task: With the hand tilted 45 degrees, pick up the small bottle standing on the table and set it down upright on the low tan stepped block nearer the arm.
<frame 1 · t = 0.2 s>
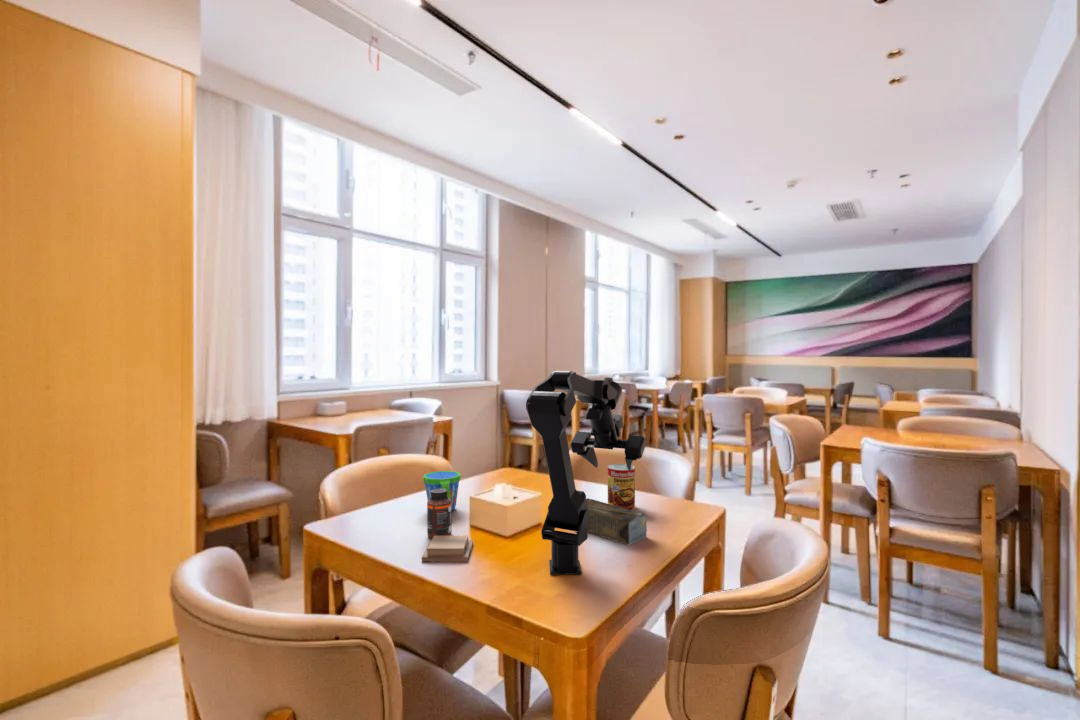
hand: (613, 468, 137), 15 cm above the table, tool tilted 35°, fingers open, 9 cm apart
beverage carton: (607, 533, 132), on the table
snack cup: (442, 510, 150), on the table
supplement bottle: (439, 536, 129), on the table
canned food: (621, 508, 152), on the table
tan stepped block: (448, 552, 118), on the table
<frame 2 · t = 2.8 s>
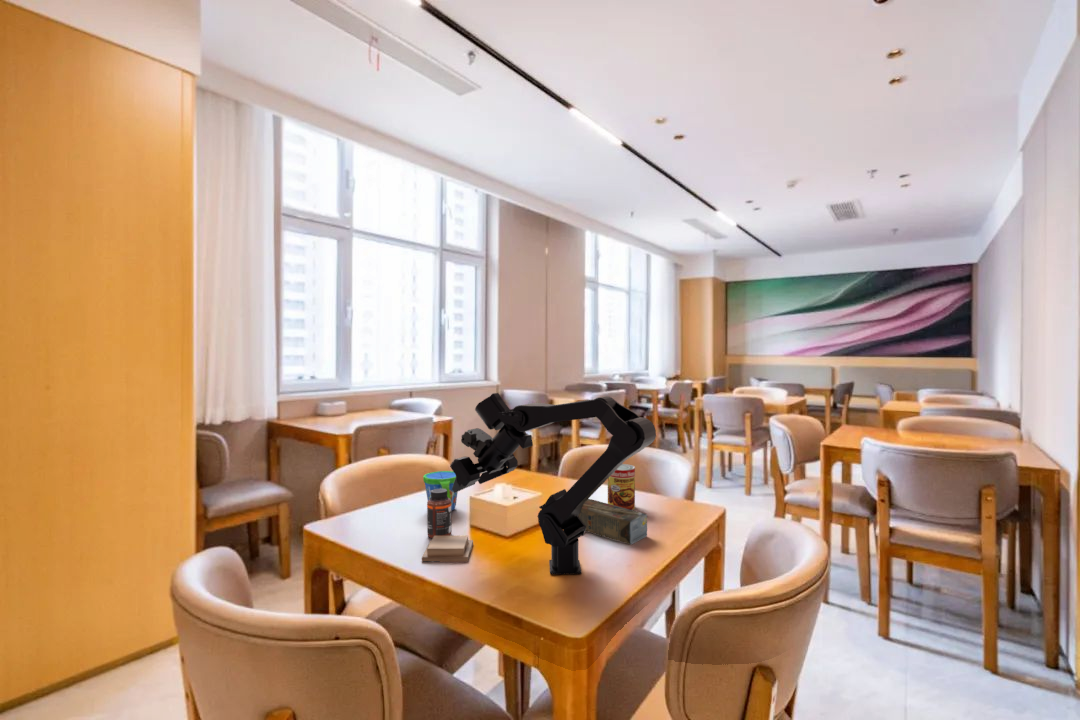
hand: (466, 486, 124), 14 cm above the table, tool tilted 45°, fingers open, 9 cm apart
nothing on the table moved.
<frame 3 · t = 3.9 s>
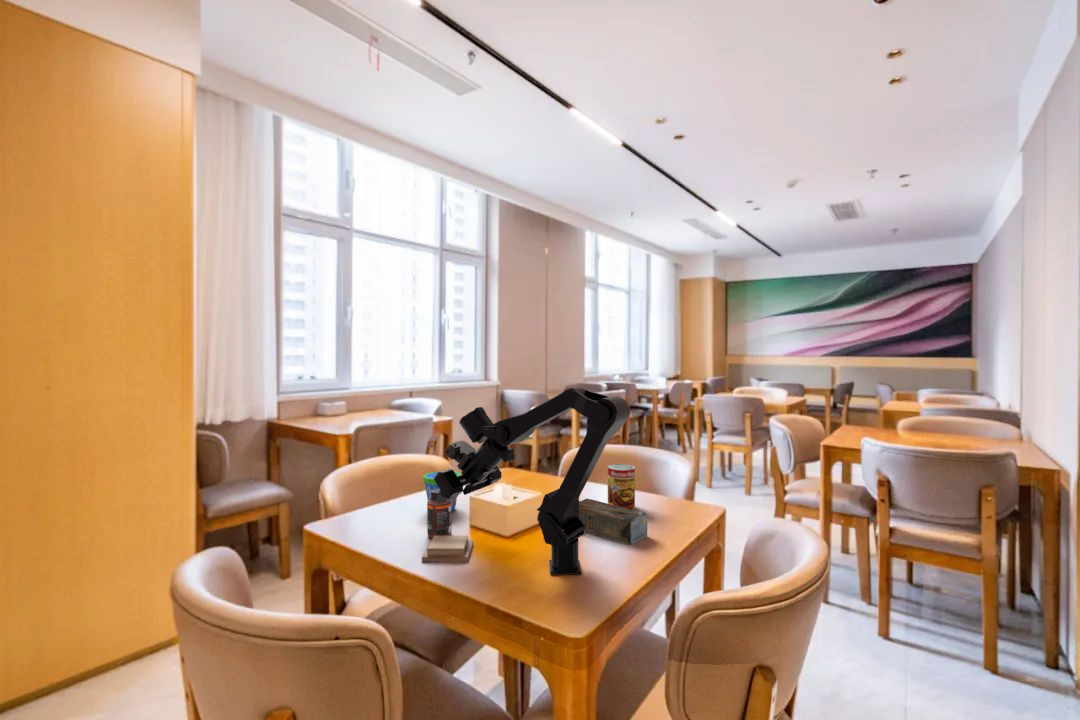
hand: (451, 497, 127), 10 cm above the table, tool tilted 45°, fingers open, 9 cm apart
nothing on the table moved.
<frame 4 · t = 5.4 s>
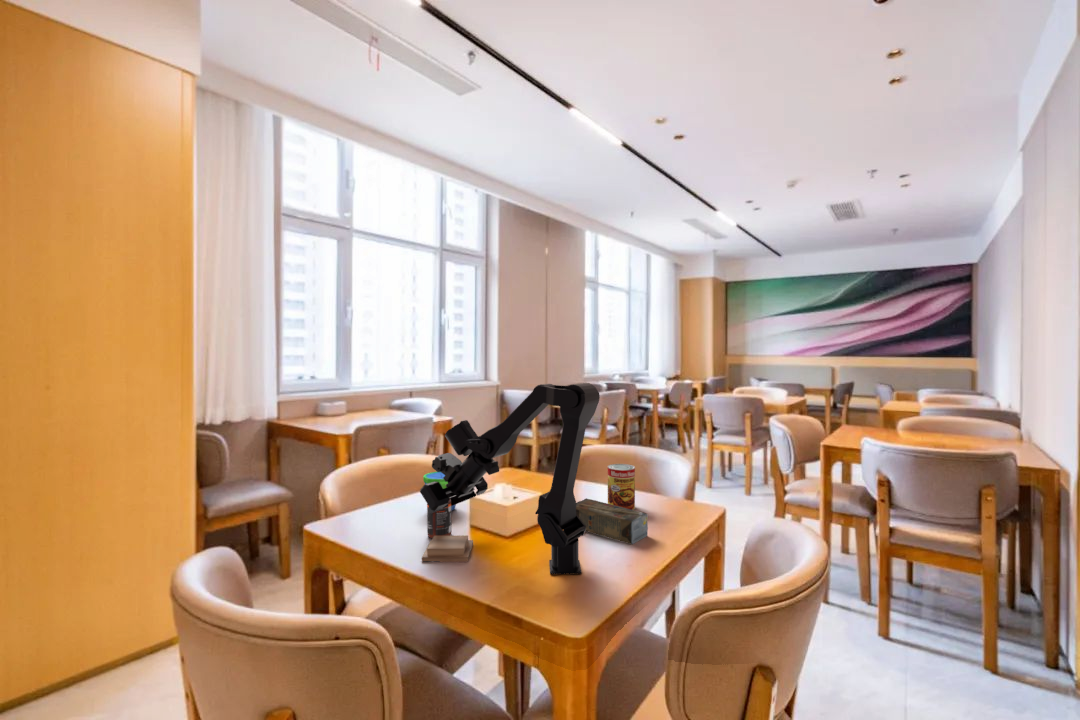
hand: (438, 508, 129), 7 cm above the table, tool tilted 45°, fingers closed on supplement bottle, 6 cm apart
supplement bottle: (439, 536, 129), on the table, touching gripper
everything else where it was.
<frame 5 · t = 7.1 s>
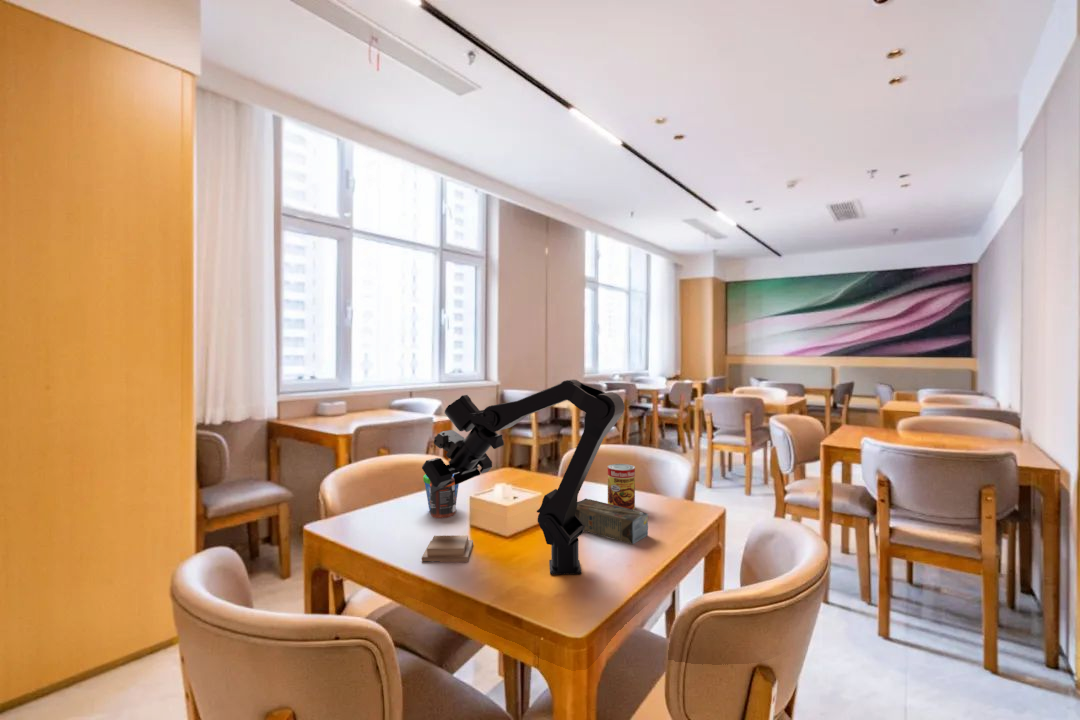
hand: (441, 488, 126), 13 cm above the table, tool tilted 45°, fingers closed on supplement bottle, 6 cm apart
supplement bottle: (443, 516, 125), point 6 cm above the table, touching gripper
everything else where it was.
when the fingers open (10 cm above the table, at t = 8.9 s): supplement bottle stays where it is, resting on tan stepped block.
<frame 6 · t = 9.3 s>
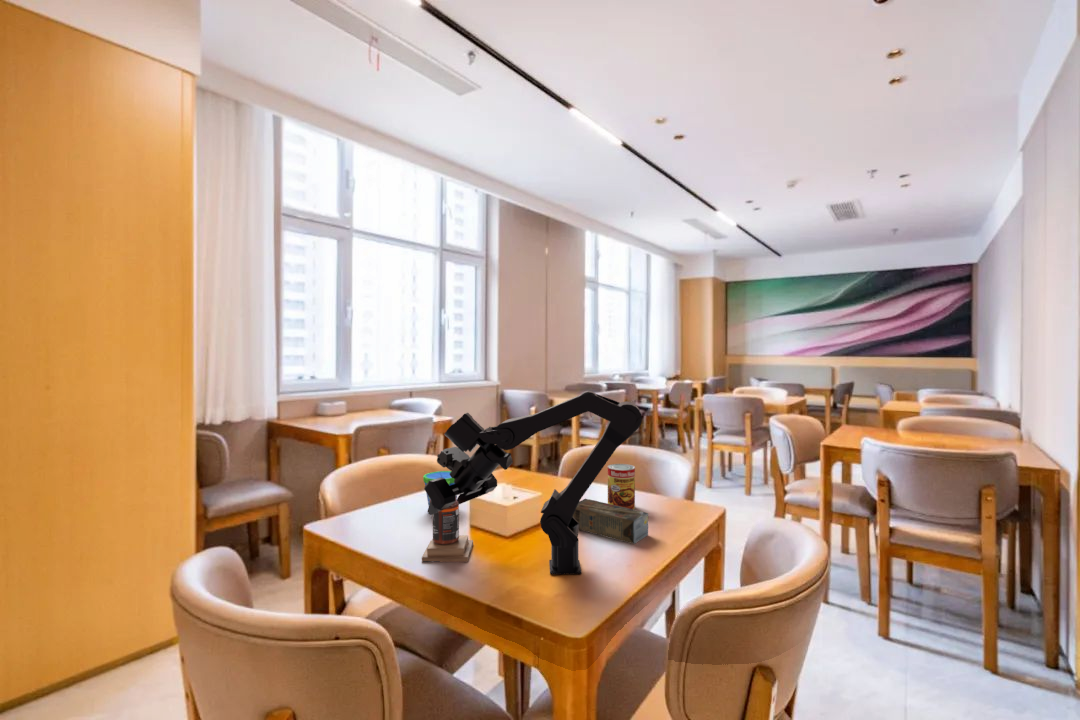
hand: (443, 507, 119), 10 cm above the table, tool tilted 45°, fingers open, 9 cm apart
supplement bottle: (446, 541, 119), point 2 cm above the table, touching tan stepped block
everything else where it was.
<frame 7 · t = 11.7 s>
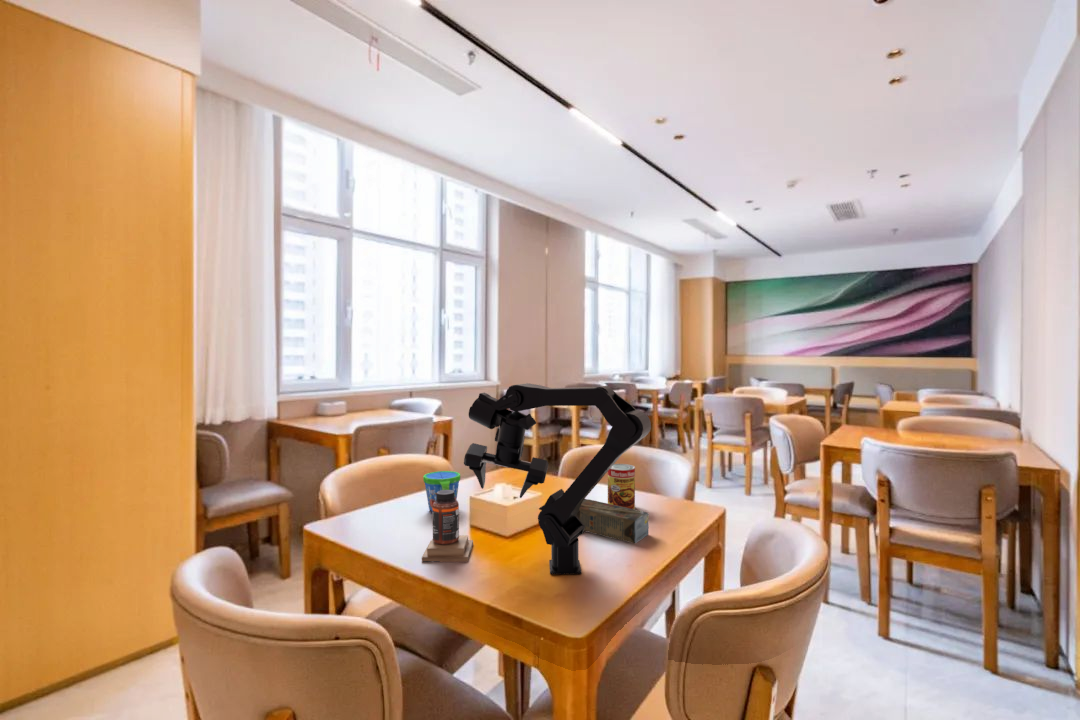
hand: (501, 492, 122), 13 cm above the table, tool tilted 25°, fingers open, 9 cm apart
nothing on the table moved.
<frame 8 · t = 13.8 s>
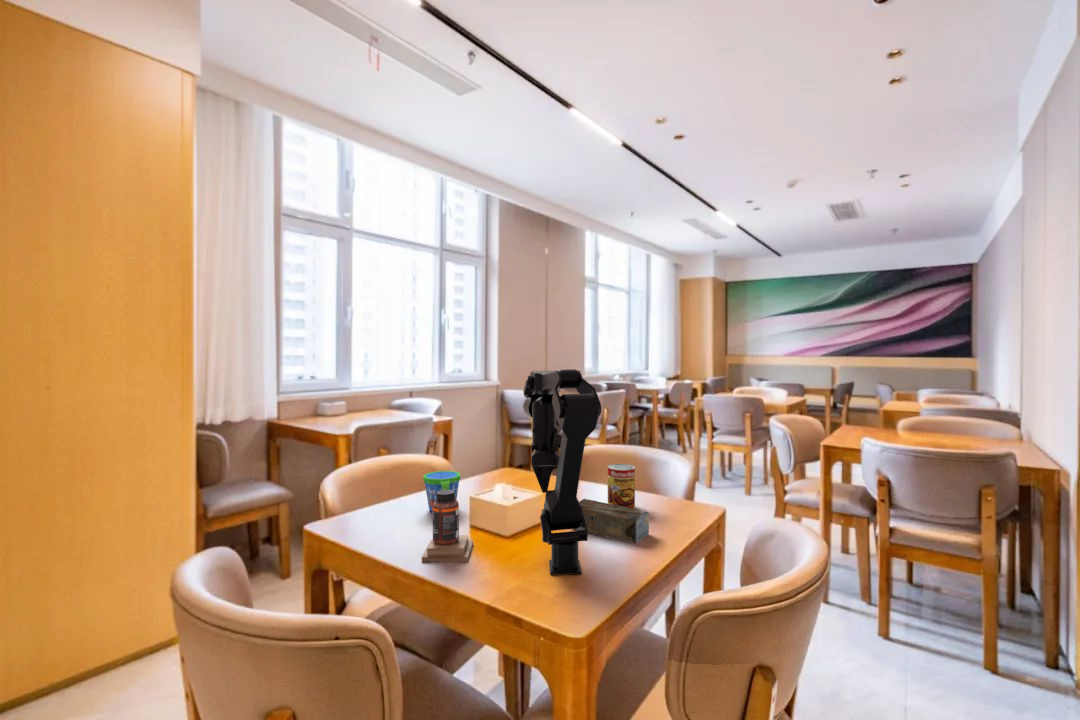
hand: (544, 487, 125), 13 cm above the table, tool pointing down, fingers open, 9 cm apart
at the end: supplement bottle inside the target area on the tan stepped block (0.8 cm from its centre), point 2.3 cm above the tan stepped block's base; supplement bottle tilted 0°; the gripper is holding nothing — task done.
